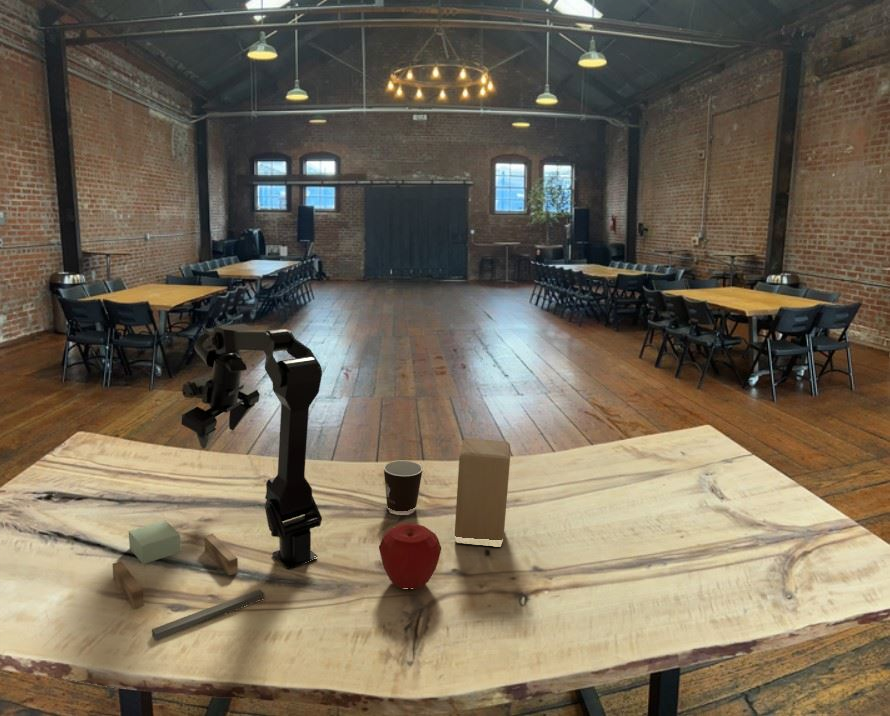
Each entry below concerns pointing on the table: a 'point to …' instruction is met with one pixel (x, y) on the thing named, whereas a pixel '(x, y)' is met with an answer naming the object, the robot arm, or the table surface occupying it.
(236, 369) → the robot arm
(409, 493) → the coffee mug
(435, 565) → the apple
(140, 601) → the set of wooden bars
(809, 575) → the table surface
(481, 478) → the wooden block
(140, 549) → the sage block
